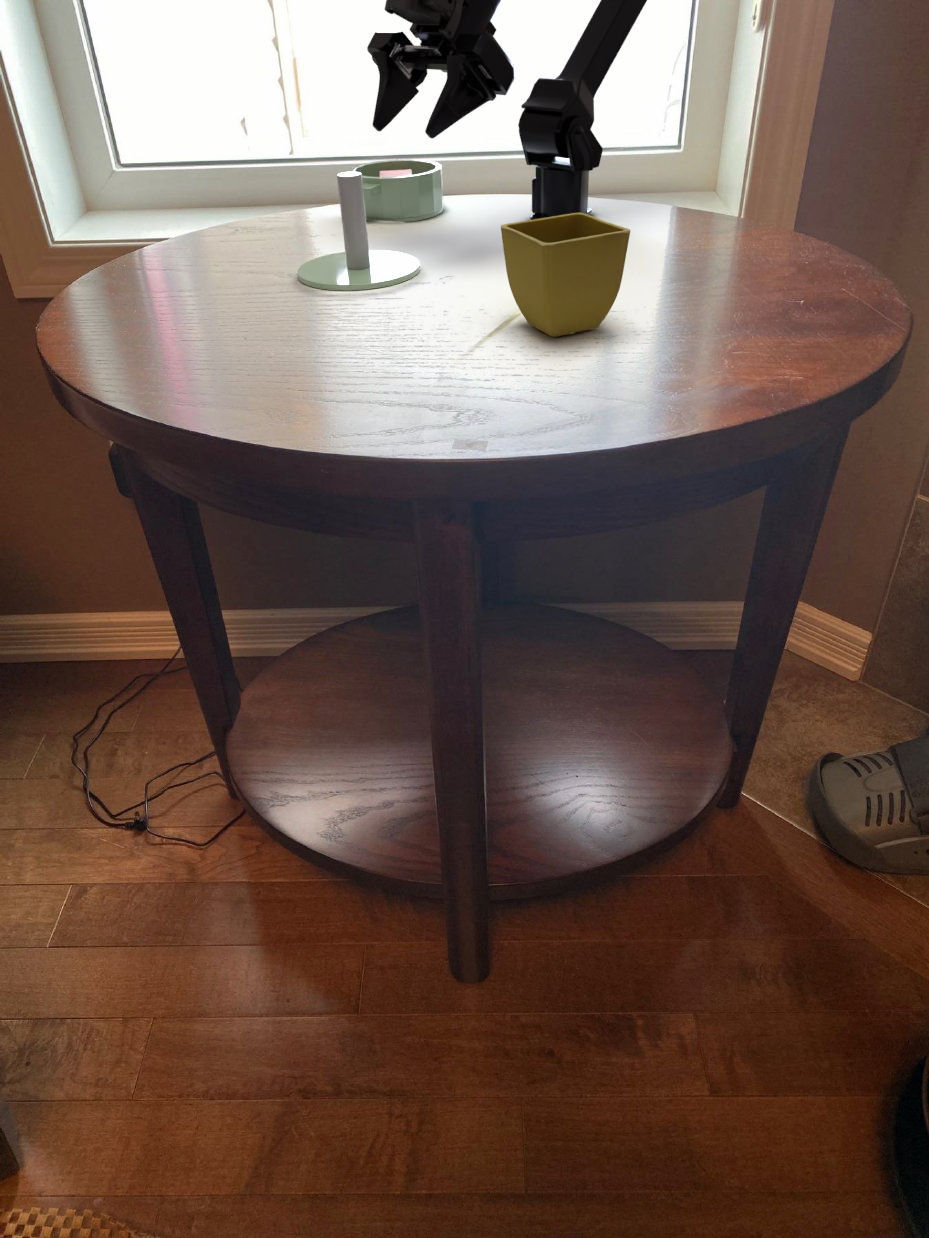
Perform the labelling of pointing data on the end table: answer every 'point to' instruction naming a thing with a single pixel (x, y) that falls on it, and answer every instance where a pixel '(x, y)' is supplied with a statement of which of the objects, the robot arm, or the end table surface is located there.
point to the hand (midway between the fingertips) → (401, 132)
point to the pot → (402, 190)
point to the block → (395, 173)
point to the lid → (356, 250)
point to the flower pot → (565, 270)
